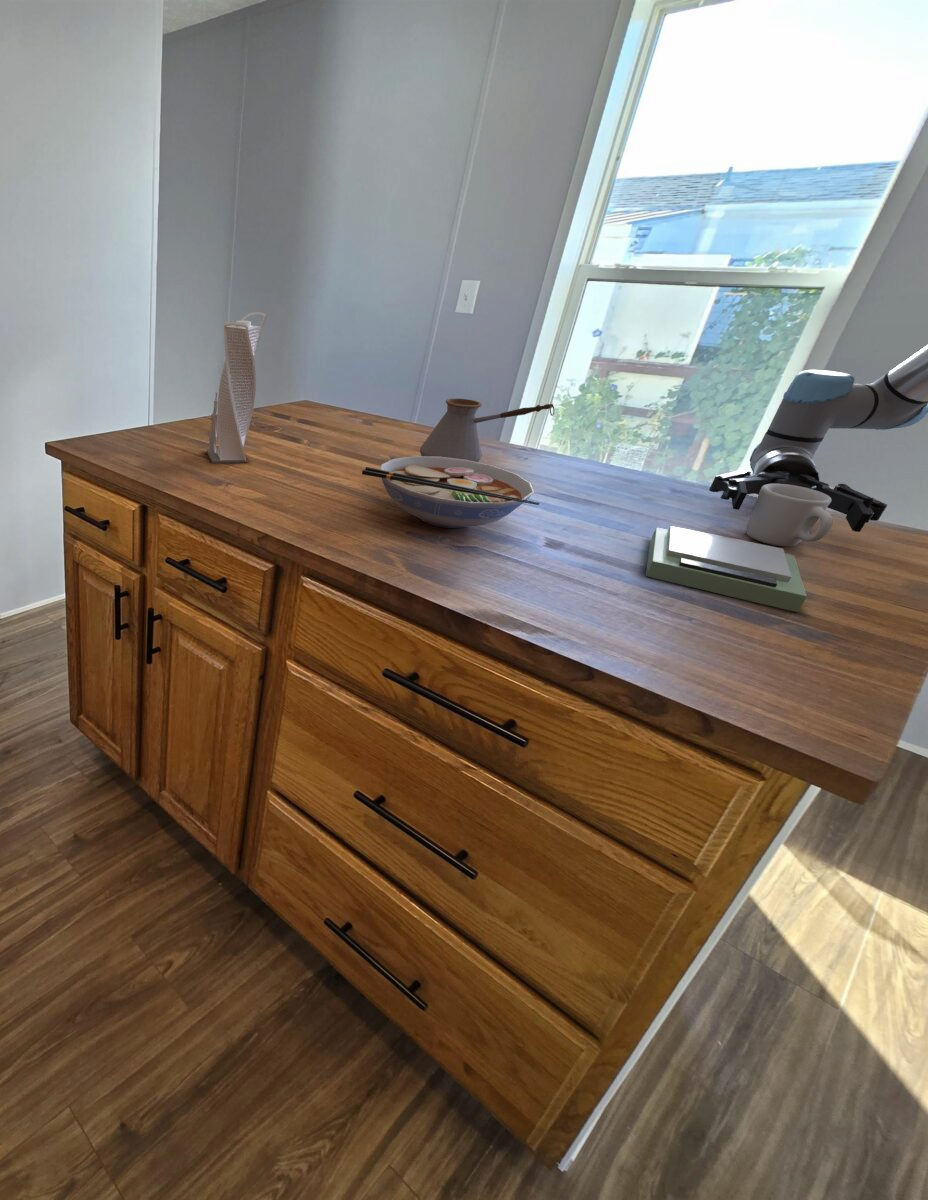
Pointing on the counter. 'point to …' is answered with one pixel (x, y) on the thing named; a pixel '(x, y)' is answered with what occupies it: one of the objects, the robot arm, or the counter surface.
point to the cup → (788, 515)
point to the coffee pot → (464, 430)
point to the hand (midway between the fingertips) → (798, 511)
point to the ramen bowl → (452, 490)
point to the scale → (726, 567)
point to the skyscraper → (235, 392)
